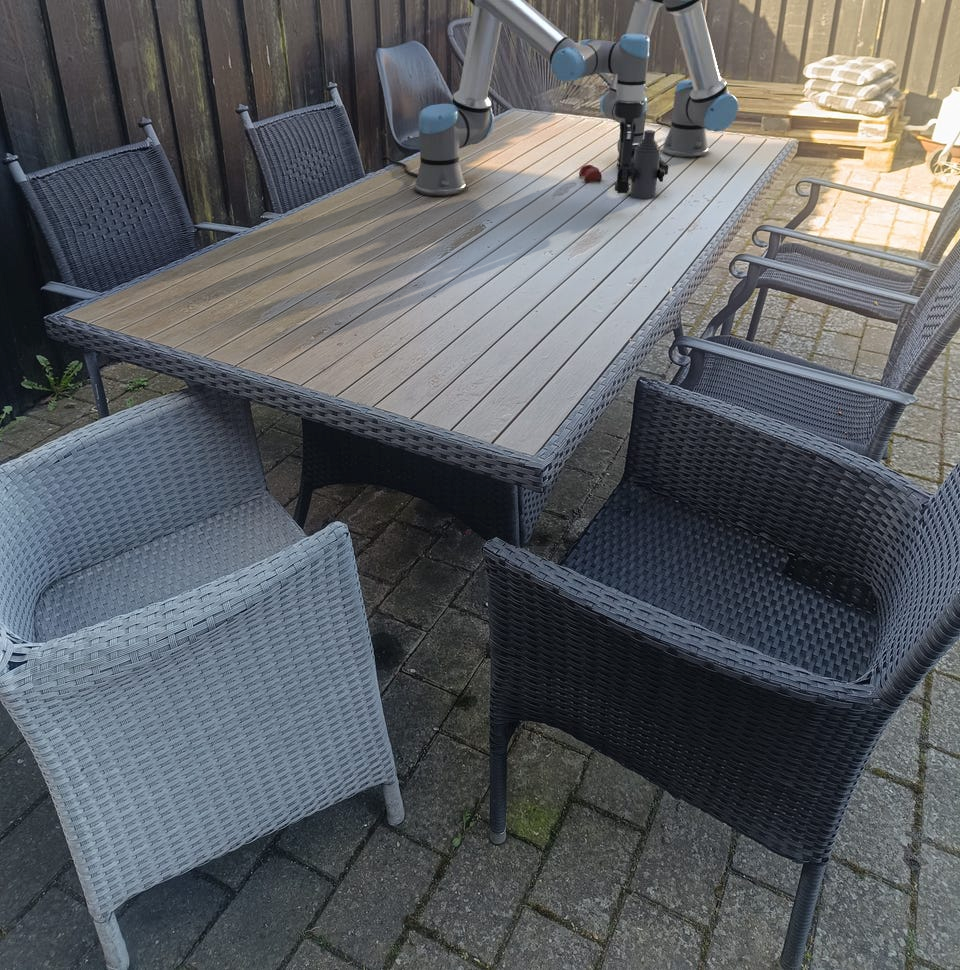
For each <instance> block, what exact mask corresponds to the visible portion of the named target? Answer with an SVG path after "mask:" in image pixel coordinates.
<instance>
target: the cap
mask: <svg viewBox="0 0 960 970" xmlns="http://www.w3.org/2000/svg"><path fill="white" fill-rule="evenodd" d="M614 183H615V182H614ZM614 191H615V192H618V183H617V182H616V183H615V184H614ZM630 191H631V183H629V182H628V192H630Z"/></svg>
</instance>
